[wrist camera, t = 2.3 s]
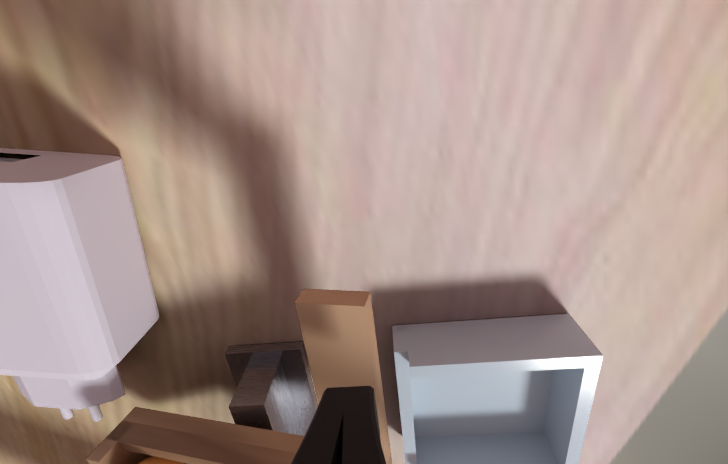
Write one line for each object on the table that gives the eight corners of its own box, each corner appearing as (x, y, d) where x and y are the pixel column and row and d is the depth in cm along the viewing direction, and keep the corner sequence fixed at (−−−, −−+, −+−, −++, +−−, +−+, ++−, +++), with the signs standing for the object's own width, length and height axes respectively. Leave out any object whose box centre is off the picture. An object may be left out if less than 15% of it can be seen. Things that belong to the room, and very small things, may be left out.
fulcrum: (325, 434, 23) (316, 493, 19) (261, 436, 23) (242, 496, 20) (302, 341, 19) (287, 394, 16) (229, 346, 20) (199, 399, 16)
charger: (42, 378, 22) (-67, 141, 16) (185, 388, 22) (132, 154, 16) (-40, 452, 18) (-236, 165, 11) (137, 465, 17) (38, 183, 11)
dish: (549, 431, 22) (574, 482, 19) (403, 437, 23) (407, 487, 20) (568, 313, 18) (603, 355, 15) (392, 325, 19) (394, 367, 16)
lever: (399, 519, 17) (389, 596, 14) (168, 467, 20) (129, 521, 18) (370, 291, 11) (345, 354, 9) (63, 277, 15) (-14, 318, 13)
